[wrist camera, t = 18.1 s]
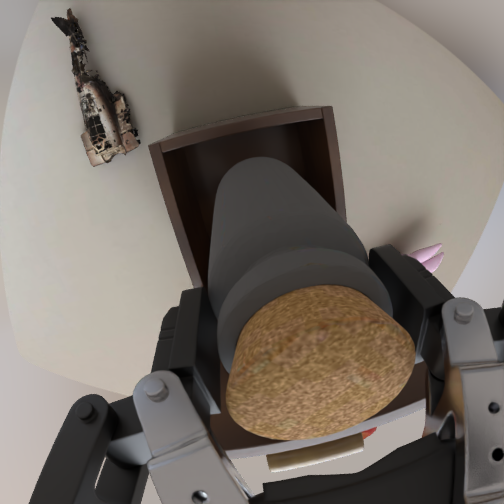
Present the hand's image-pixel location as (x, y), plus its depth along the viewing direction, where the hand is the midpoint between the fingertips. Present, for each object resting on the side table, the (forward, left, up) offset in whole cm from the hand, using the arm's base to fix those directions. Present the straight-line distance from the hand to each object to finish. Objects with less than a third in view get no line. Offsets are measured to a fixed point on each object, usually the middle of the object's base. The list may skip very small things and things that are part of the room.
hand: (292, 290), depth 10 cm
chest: (+2, 0, -21) cm, 21 cm away
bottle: (0, 0, -11) cm, 11 cm away
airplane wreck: (-13, -12, -22) cm, 28 cm away
